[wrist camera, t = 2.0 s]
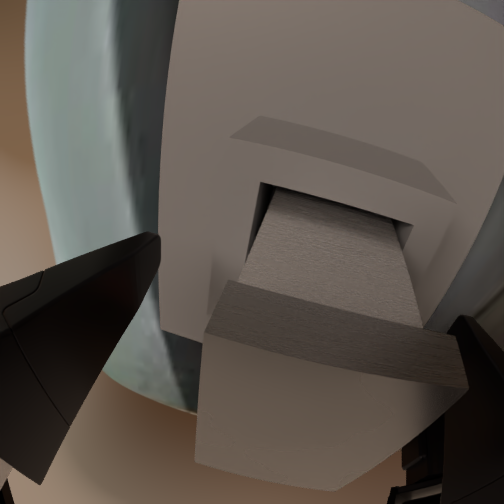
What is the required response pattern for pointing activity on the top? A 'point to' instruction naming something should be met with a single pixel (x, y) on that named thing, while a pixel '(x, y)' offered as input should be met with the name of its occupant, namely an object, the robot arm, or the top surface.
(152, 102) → the top surface
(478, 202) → the jack stand base
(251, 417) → the grey-brown stepped block
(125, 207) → the top surface
